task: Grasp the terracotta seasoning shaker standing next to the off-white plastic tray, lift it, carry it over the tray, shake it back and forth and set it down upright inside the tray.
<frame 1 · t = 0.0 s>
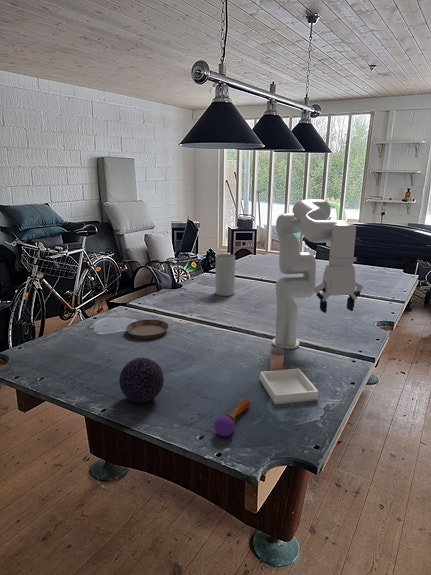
hand: (336, 310, 140), 31 cm above the table, tool pointing down, fingers open, 9 cm apart
plant saucer: (147, 333, 204), on the table
toy ball: (142, 399, 144), on the table
cylinder vase: (224, 293, 270), on the table
shaker: (276, 370, 165), on the table
brown purple handled piece: (233, 423, 131), on the table
tray: (287, 389, 150), on the table
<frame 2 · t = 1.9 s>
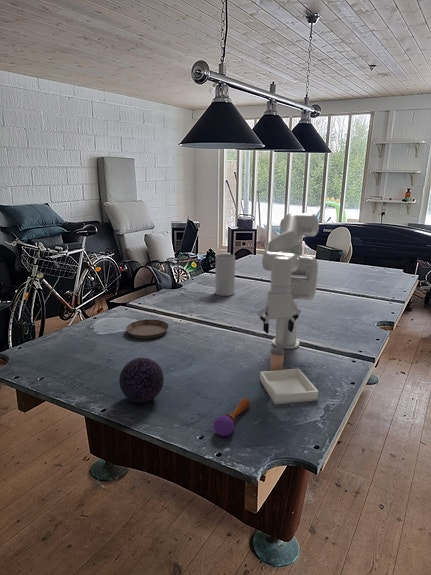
hand: (278, 331, 160), 17 cm above the table, tool pointing down, fingers open, 9 cm apart
nothing on the table moved.
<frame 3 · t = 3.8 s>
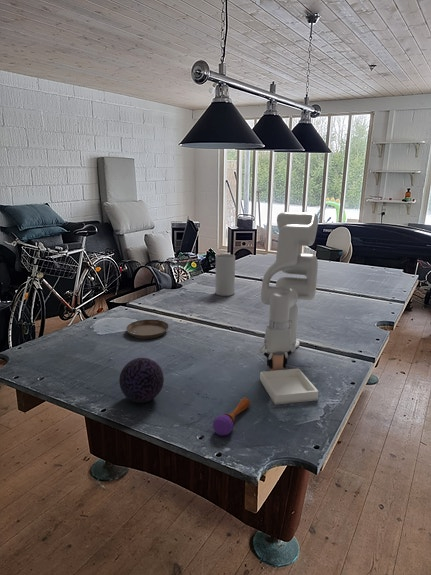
hand: (276, 366, 164), 2 cm above the table, tool pointing down, fingers closed on shaker, 5 cm apart
shaker: (276, 370, 165), on the table, touching gripper
everything else where it was.
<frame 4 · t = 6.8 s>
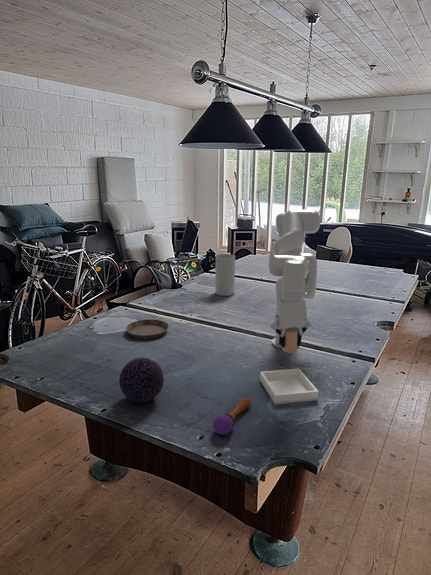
hand: (289, 345, 146), 18 cm above the table, tool pointing down, fingers closed on shaker, 5 cm apart
shaker: (289, 350, 146), point 16 cm above the table, touching gripper
everything else where it was.
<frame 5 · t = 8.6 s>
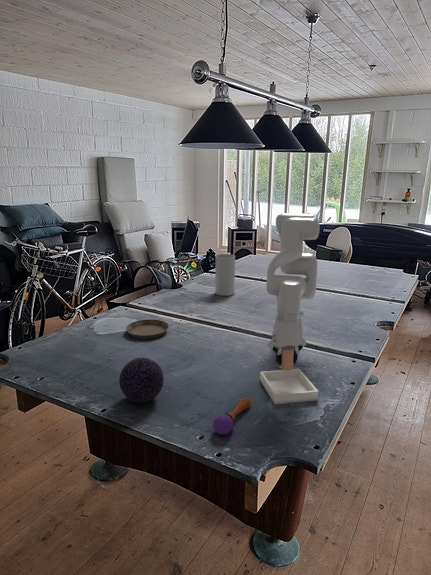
hand: (286, 362, 150), 10 cm above the table, tool pointing down, fingers closed on shaker, 5 cm apart
shaker: (286, 367, 151), point 8 cm above the table, touching gripper
everything else where it was.
when the fingers open (4 cm above the table, at t = 10.0 s): shaker drops 1 cm, resting on tray.
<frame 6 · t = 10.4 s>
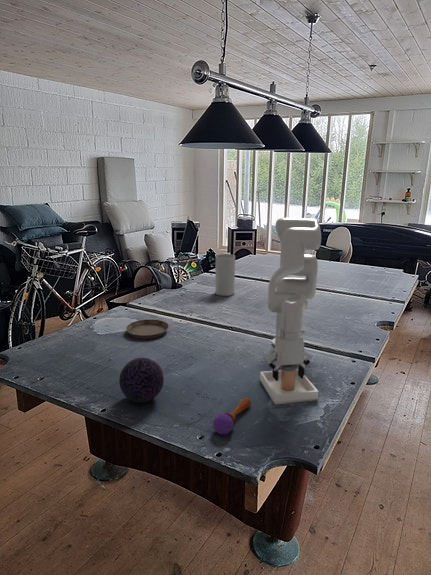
hand: (288, 378, 149), 5 cm above the table, tool pointing down, fingers open, 9 cm apart
shaker: (287, 387, 150), point 1 cm above the table, touching tray
everything else where it was.
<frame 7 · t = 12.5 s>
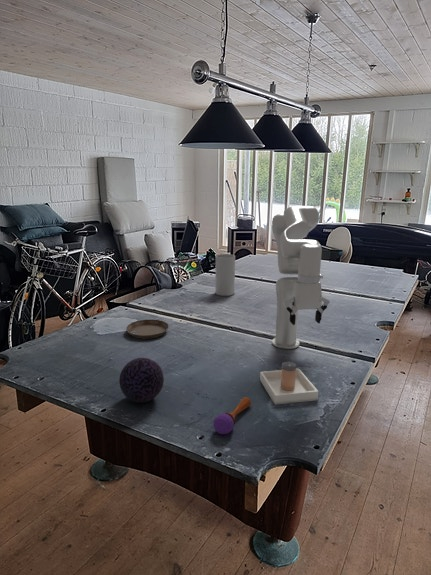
hand: (305, 322, 153), 23 cm above the table, tool pointing down, fingers open, 9 cm apart
nothing on the table moved.
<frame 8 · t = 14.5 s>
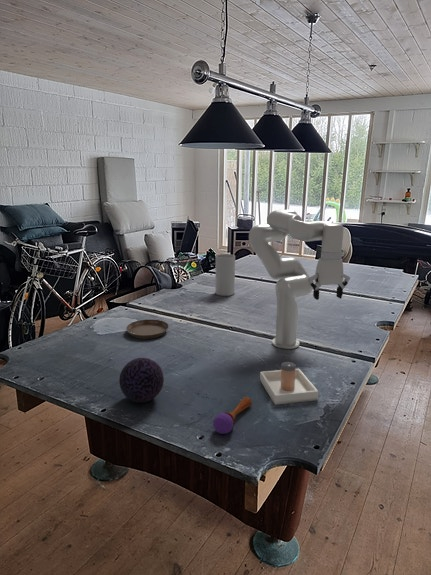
hand: (327, 298, 164), 28 cm above the table, tool pointing down, fingers open, 9 cm apart
at the end: shaker inside the target area on the tray (0.1 cm from its centre), point 0.9 cm above the tray's base; shaker tilted 1°; the gripper is holding nothing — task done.
